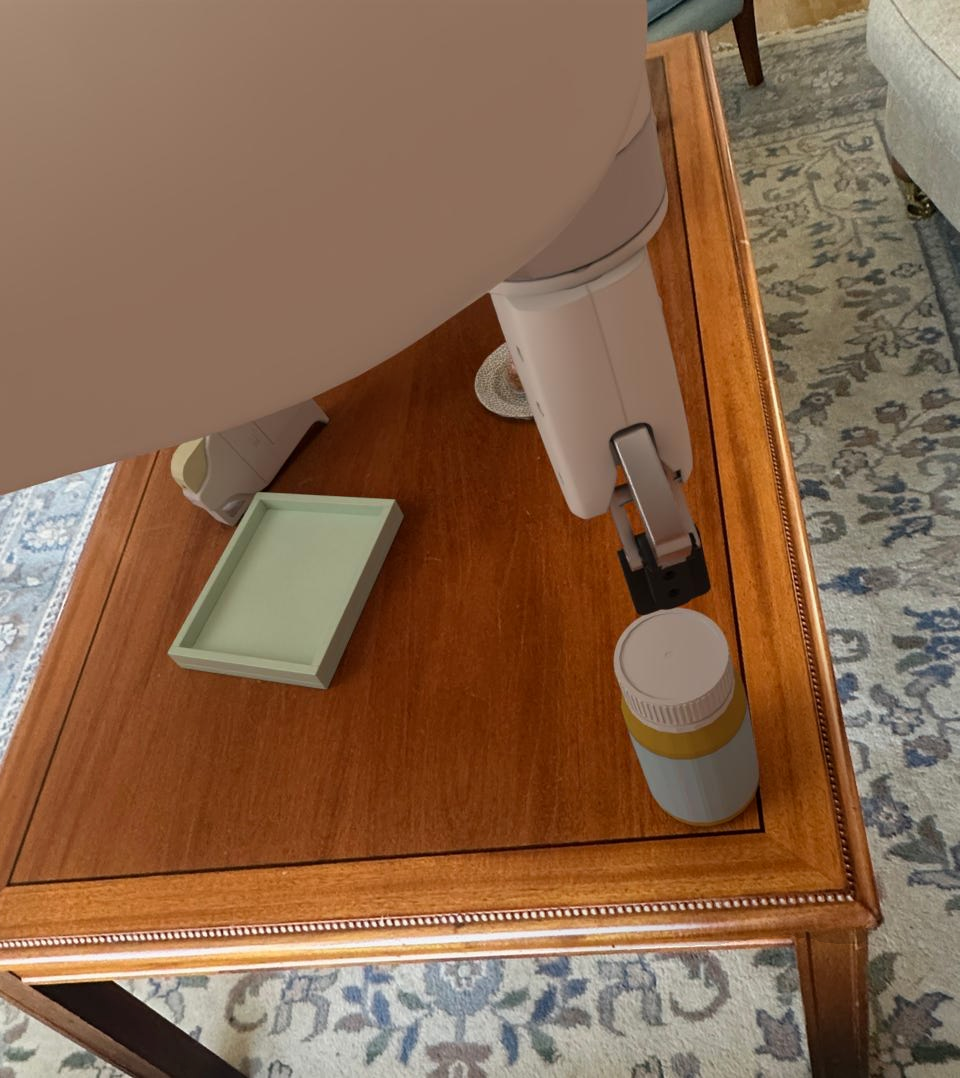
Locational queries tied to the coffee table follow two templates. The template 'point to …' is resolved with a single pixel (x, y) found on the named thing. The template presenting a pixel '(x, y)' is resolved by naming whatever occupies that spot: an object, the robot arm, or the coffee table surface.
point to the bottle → (687, 716)
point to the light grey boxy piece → (240, 460)
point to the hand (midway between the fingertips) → (637, 517)
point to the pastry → (502, 386)
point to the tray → (289, 588)
